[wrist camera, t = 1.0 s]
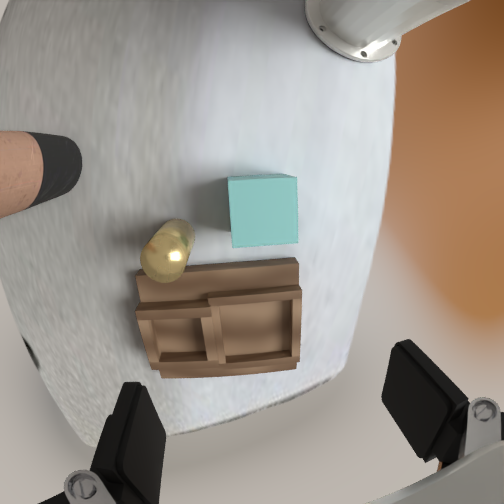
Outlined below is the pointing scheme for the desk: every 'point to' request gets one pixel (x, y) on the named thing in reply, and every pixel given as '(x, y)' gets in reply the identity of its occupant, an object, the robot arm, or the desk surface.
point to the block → (263, 210)
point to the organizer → (222, 319)
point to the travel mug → (35, 169)
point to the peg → (168, 251)
